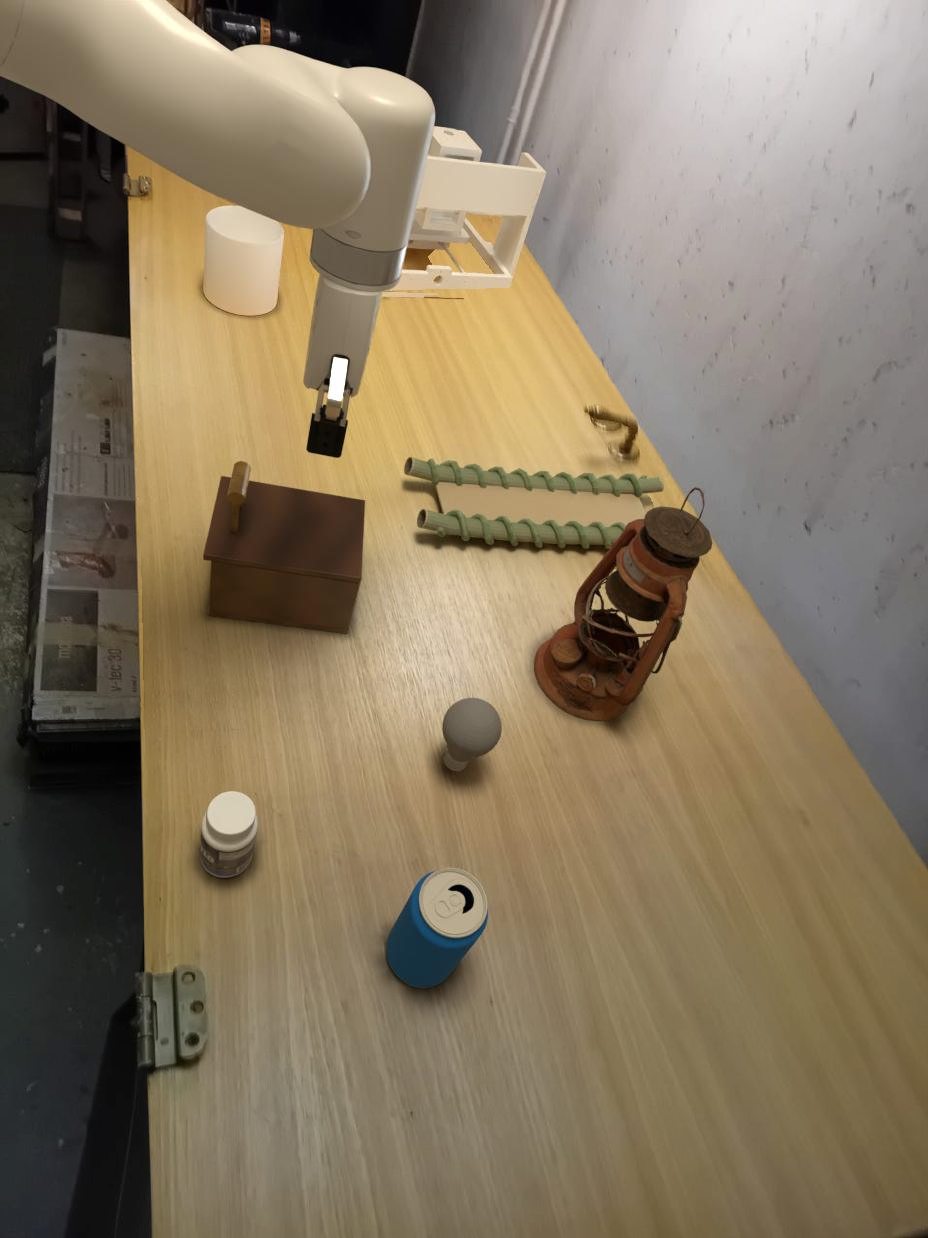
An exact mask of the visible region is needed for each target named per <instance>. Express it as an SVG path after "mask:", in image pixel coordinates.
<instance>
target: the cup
mask: <svg viewBox="0 0 928 1238" xmlns="http://www.w3.org/2000/svg"><path fill="white" fill-rule="evenodd" d="M284 239H285V230H284V228H283V226H282V224H281V223H280V222H278V221H275V220H273V219H270V218H268V217H265V216H263V215H261V214H258V213H256V212H253V211H251V210H248V209H246V208H243V207H241V206H238V205H222V206H217V207H214V208H212V209H211V210H209V211H208V212H207V213H206V215H205V222H204V250H203V251H204V254H203V255H204V256H203V280H202V281H203V283H202V284H203V285H202V290H203V291H202V292H203V296H205V299H207V300H208V302H209V303H210V304H212V305H213V306H215V307H216V308H218V309H220V310H222V311H224V312H228V313H230V314H232V315H233V314H235V315H239V316H247V317H249V316H250V317H251V316H252V317H254V316H261V315H265V314H267V313H270V312H271V311H273V310H274V309H275V308H276V306H277V304H278V297H279V296H278V295H279V286H280V276H281V269H282V258H283V249H284Z"/></svg>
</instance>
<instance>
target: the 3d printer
mask: <svg viewBox="0 0 928 1238" xmlns="http://www.w3.org/2000/svg"><path fill="white" fill-rule="evenodd" d="M482 153H483V150H482V148H480V147H479V146H478V144H477V143H476V142H475V141H474V140H473V138H471V136H470V135H469V134H468V133H467V132H466V131H465V130H459V129H457V128H452V127H443V126H437V125H434V129H433V134H432V139H431V143H430V147H429V152H428V156H427V161H426V165H425V170H424V174H423V179H422V183H421V187H420V192H419V196H418V201H417V205H416V210H415V214H414V219H413V223H412V228H411V232H410V237H409V240H408V246H407V249H419V250H420V249H421V250H438V251H445V253H446V254H447V255H448V256H449V258H450V260H451V261H452V262H453V264H454V265H455V266H456V268H457V269H458V270H459V271H453V269H452V268H451V267H450V265H438V264H437V265H435V264H428V265H426V269H425V270H423V269H422V270H420V269H402V273H401V277H400V281H399V283H398V284H397V285H396V286H395V287H394V288H392V289H389V290H390V291H392V290H394V291H395V290H422V289H482V288H483V289H486V288H509V287H510V288H511V285H512V283H513V279H514V274H515V271H516V268H517V265H518V262H519V259H520V255H521V252H522V249H523V246H524V243H525V241H526V237H527V234H528V230H529V228H530V225H531V222H532V218H533V216H534V212H535V209H536V206H537V204H538V200H539V197H540V194H541V191H542V188H543V185H544V182H545V178H546V176H547V171H546V170H545V169H544V168H543V167H542V166H541V165H540V164H539V163H538V161H537V160H535V158H534V157H533V156H532V155H531V154H530V153H529V152H524V151H522V152H521V153H520V157H519V160H518V163H517V165H509V164H503V163H502V164H501V163H493V162H486V161H485V162H484V161H481V158H482ZM466 215H477V216H489V217H490V216H491V217H501V220H500V224H499V226H498V231H497V233H496V237H495V240H494V241H495V242H494V244H493V243H491V242H490V241H486V240H484V239H483V237H482V236H481V235H480V234H479V232H478V231H477V230H476V228H475V227H474V226H473V225H472V224H471V223H470V221H469V220H468V219H467V217H466ZM468 242H470V243H471V244H472V246H473V247H474V248H475V249H476V251H477V252H478V253H479V255H480V256H481V257H482V259H483V260H484V261H485V263H486V264H487V265H488V266H489V268H490V269H491V270H492V272H493V273H494V274H486V273H480V272H466V271H465V270H464V269H463V267H462V266H461V264H460V263H459V262H458V260H457V259H456V258H455V256H454V255H453V253H452V252H451V251H450V249H449V247H450V244H451V243H452V244H458V243H464V244H467V243H468ZM437 277H440V278H439V279H438V280H437V281H435V279H436V278H437ZM386 291H388V290H386ZM425 295H439V294H437V293H407V292H382V297H381V298H385V297H386V298H410V299H411V298H413V299H425V298H424V296H425ZM443 295H444V294H443Z"/></svg>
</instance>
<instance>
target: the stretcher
mask: <svg viewBox="0 0 928 1238" xmlns="http://www.w3.org/2000/svg"><path fill="white" fill-rule="evenodd" d="M403 471H404V475H405V476H410V477H414V478H417V479H421V480H425V481H429V482H431V486H432V487H435V491H436V494H437V497H438V501H439V505H440V508H441V512H437V511H433V510H431V509H426V508H422V509H420V511H419V512H418V514H417V517H416V526H417V528H419V529H422V530H427V531H432V532H435V533H437V534H438V536H439V537H441V538H445V537H446V536H447V535H449V536H450V535H451V536H461V540H462V541H464V542H467V541H469V540H470V538H479V539H480V538H481V539H484V540H485V543H486V544H487V545H493V544H494V543H495V540H499V541H508V542H509V543H510V545H511V546H513V547H516V546H518V545H519V542H521V543H534V545H535V547H536V548H539V549H540V548H542V547H543V544H551V545H552V544H554V545H558V547H559V548H560V549H563V548H566V545H581V547H582V549H584V550H588V549H590V545H592V546H593V545H596V546H601V545H603V546H604V548H605V549H607V550H609V549H610V548H611V547H612V546H613V544H614V543H615V542H616V540H617V539H618V538H619V536H620V535H621V534H622V533H623V531H624V530H625V528H626V526H627V524H628V523H629V522H632V521H634V520H637V519H645V515H646V513H647V511H646V509H645V507H644V505H643V503H642V501H641V499H640V498H641V497H642V495H643V494H644V495H645V494H653V493H661V492H662V493H663V491H664V484H665V483H664V480H663V478H662V477H661V476H656V477H655V476H654V477H648V475H646V474H642V475H641V476H639V478H638V476H637V475H636V474H635V473H629V472H628V473H625V474H623V475H621V476H620V477H618V478H616V477H615V476H614V474H605V475H601V476H599V477H598V478H596V475H595V474H594V473H593V472H584V473H581V474H580V475H578V476H577V477H573V476H572V474H570V473H568V472H566V471H561V472H558V473H556V474H555V475H553V476H552V475H551V473H550V472H549V470H548V471H547V470H539V471H537V472H535V473H533V474H532V475H529V474H528V472H527V471H526V470H524V469H522V468H520V467H519V468H516V469H515V470H513V471H511V472H506V470H505V469H504V467H502V466H493V467H490V468H489V469H488V470H483V469H482V467H481V466H480V465H478V464H477V463H470V464H466V465H465V466H464V467H460V466H459V463H458V461H456V460H450V459H447V460H446V461H444V462H442V463H440V464H437V463H436V462H435V459H434V458H429V459H428V460H427V461H426V460H423V459H419V458H415V457H412V456H408V458H407V459H406V461H405V463H404V466H403Z"/></svg>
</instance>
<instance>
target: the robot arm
mask: <svg viewBox="0 0 928 1238" xmlns="http://www.w3.org/2000/svg"><path fill="white" fill-rule="evenodd" d="M0 77H2V78H4V79H6V80H9V81H11V82H14V83H15V84H18V85H20V86H22V87H25V88H27V89H29V90H31V91H33V92H35V93H38V94H40V95H42V96H44V97H46V98H48V99H50V100H52V101H53V102H56V103H57V104H59V105H60V106H62V107H64V108H65V109H67V110H68V111H70V112H71V114H74V115H75V116H77V117H78V118H80V119H81V120H83V121H84V122H86V123H87V124H89V125H91V126H92V127H94V128H95V129H97V130H98V131H100V132H101V133H103V134H106V136H109V137H110V138H113V139H115V140H116V141H118V142H120V143H122V144H123V145H125V146H126V147H128V148H130V149H132V150H134V151H135V152H137V153H138V154H140V155H142V156H144V157H145V158H147V159H148V160H150V161H152V162H154V163H155V164H157V165H158V166H160V167H162V168H163V169H165V170H167V171H169V172H170V173H172V174H174V175H176V176H177V177H178V178H180V179H182V180H184V181H186V182H188V183H190V184H192V185H193V186H196V187H197V188H199V189H201V190H203V191H205V192H206V193H207V192H208V193H210V194H211V195H213V196H216V197H218V198H220V199H221V200H224V201H227V202H229V203H231V204H234V205H235V206H241V207H243V208H246V209H248V210H251V211H253V212H256V213H258V214H261V215H263V216H265V217H268V218H270V219H273V220H275V221H278V222H279V223H280V224H283V225H287V226H290V227H295V228H300V229H308V230H312V236H311V242H310V248H309V257H308V258H309V262H310V264H311V266H312V268H313V269H314V270H315V271H316V272H317V274H318V279H317V282H316V283H317V284H316V290H315V295H314V302H313V308H312V315H311V322H310V328H309V337H308V343H307V350H306V357H305V364H304V371H303V379H302V383H303V385H304V387H305V388H306V389H308V390H310V389H312V390H316V391H317V398H316V404H315V410H314V412H311V416H310V424H309V429H308V436H307V442H306V449H305V450H306V452H307V453H310V454H314V455H319V456H325V457H329V458H334V459H339V458H341V457H342V454H343V449H344V444H345V439H346V435H347V429H348V424H349V420H348V418H347V417H348V412H349V404H350V399H351V398H352V399H353V398H354V397H356V396H357V395H358V394H359V392H360V387H361V384H362V381H363V377H364V373H365V370H366V367H367V362H368V359H369V354H370V350H371V346H372V342H373V337H374V333H375V330H376V329H375V328H376V324H377V320H378V316H379V311H380V306H381V302H382V298H383V297H382V292H383V291H386V290H389V289H392V288H394V287H395V286H396V285H397V284H398V283H399V281H400V277H401V273H402V270H403V267H404V263H405V260H406V255H407V250H408V248H407V246H408V241H409V237H410V232H411V228H412V223H413V219H414V214H415V210H416V205H417V201H418V196H419V192H420V187H421V183H422V179H423V174H424V170H425V165H426V161H427V156H428V152H429V147H430V143H431V139H432V134H433V129H434V126H435V122H436V109H435V105H434V102H433V99H432V97H431V96H430V94H429V93H428V92H427V90H425V89H424V88H423V87H422V86H420V85H419V84H418V83H416V82H415V81H413V80H411V79H409V78H408V77H406V76H403V75H401V74H398V73H396V72H393V71H390V70H387V69H383V68H378V67H371V66H353V67H350V68H346V67H342V66H338V65H334V64H331V63H327V62H325V61H321V60H317V59H314V58H312V57H308V56H305V55H302V54H299V53H297V52H294V51H291V50H287V49H285V48H281V47H277V46H273V45H269V44H268V45H267V44H249V45H243V46H240V47H237V48H235V49H233V50H230V49H229V48H227V47H226V46H224V45H223V44H222V43H220V42H219V41H217V40H216V39H215V38H213V37H212V36H211V35H209V34H208V33H207V32H205V31H204V30H203V29H202V28H200V27H199V26H197V25H196V24H195V23H194V22H192V20H190V19H188V17H187V16H185V15H184V14H183V13H182V12H181V11H179V10H178V9H177V8H176V7H174V5H172V4H171V3H170V2H169V1H167V0H0ZM325 394H327V397H326V403H324V397H325ZM323 403H324V404H323Z"/></svg>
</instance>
